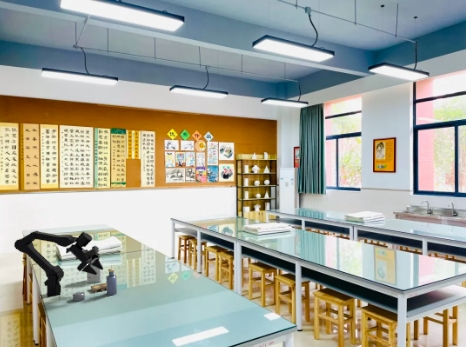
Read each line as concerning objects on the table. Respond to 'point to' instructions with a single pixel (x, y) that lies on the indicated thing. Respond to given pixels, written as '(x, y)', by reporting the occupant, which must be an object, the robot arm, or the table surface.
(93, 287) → the dock
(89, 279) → the small box
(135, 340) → the table surface
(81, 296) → the grey rounded block
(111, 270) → the ink bottle
